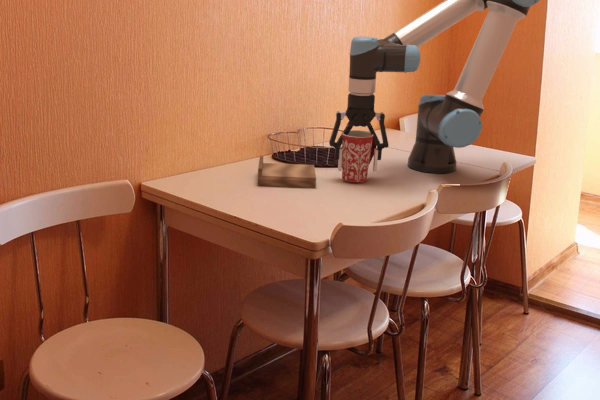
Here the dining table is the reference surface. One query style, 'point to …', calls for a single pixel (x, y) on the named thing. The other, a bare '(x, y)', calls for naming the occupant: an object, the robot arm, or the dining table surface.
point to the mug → (357, 155)
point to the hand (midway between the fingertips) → (357, 170)
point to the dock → (286, 175)
